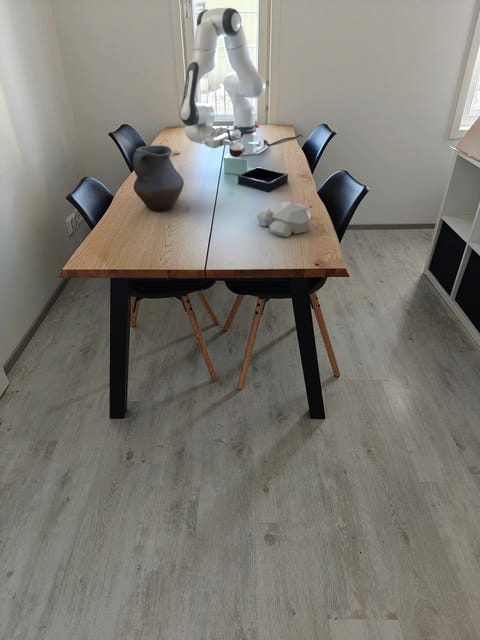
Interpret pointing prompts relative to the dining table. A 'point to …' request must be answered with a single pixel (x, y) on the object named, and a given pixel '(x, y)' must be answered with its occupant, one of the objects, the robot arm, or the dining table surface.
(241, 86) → the robot arm
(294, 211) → the rock
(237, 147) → the cocoa
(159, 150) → the pitcher
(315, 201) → the dining table surface
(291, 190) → the dining table surface
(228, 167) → the pale cyan corner bracket
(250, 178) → the tray
